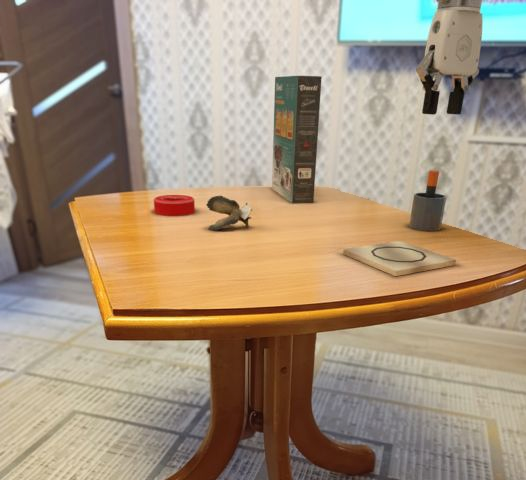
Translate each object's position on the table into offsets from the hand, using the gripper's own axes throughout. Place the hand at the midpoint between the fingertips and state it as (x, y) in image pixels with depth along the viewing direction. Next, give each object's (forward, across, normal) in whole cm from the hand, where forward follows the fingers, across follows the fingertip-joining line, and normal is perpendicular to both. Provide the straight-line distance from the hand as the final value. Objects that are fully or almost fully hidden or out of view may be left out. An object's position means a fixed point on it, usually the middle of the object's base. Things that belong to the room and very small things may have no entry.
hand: (441, 113), depth 100 cm
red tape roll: (+24, -42, +40) cm, 63 cm away
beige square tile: (+23, -19, -13) cm, 33 cm away
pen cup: (+23, +4, +3) cm, 24 cm away
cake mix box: (+24, -4, +48) cm, 54 cm away
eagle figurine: (+24, -36, +20) cm, 48 cm away
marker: (+23, +4, +3) cm, 23 cm away
